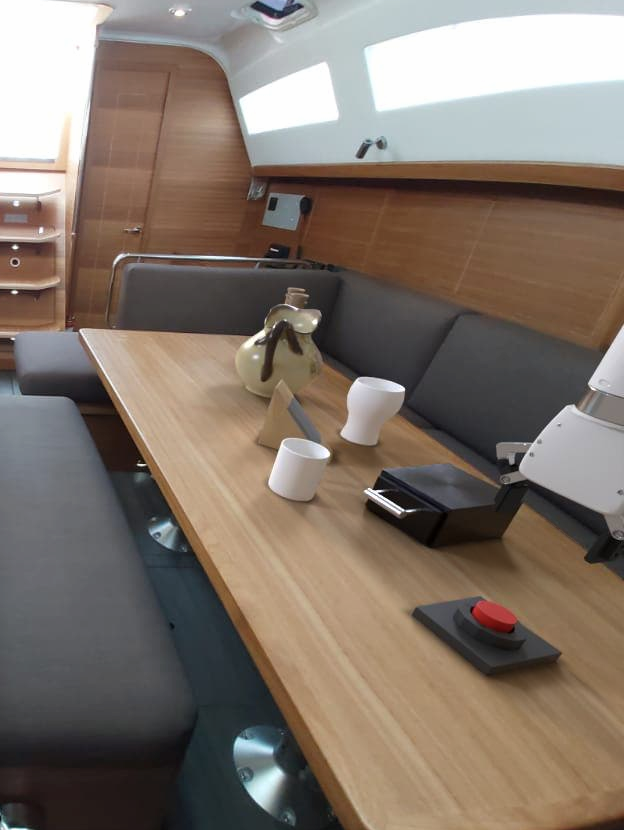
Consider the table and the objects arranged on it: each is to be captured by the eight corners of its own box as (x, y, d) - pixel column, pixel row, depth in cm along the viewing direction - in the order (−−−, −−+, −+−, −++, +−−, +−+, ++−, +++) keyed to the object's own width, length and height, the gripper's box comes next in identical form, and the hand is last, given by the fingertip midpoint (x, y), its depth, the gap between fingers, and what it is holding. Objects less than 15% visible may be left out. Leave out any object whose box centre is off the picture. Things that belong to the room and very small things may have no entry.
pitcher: (286, 380, 161) (310, 303, 150) (329, 411, 139) (362, 324, 129) (216, 377, 161) (236, 300, 150) (249, 407, 140) (275, 320, 129)
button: (486, 608, 70) (492, 598, 69) (518, 631, 66) (525, 621, 66) (464, 611, 69) (469, 602, 68) (495, 635, 66) (502, 625, 65)
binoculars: (259, 352, 187) (279, 285, 177) (289, 356, 184) (311, 288, 173) (262, 368, 170) (283, 295, 160) (295, 373, 167) (319, 299, 156)
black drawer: (399, 548, 85) (416, 515, 82) (343, 508, 96) (356, 477, 92) (488, 536, 89) (507, 504, 86) (424, 498, 99) (439, 469, 96)
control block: (473, 606, 75) (486, 586, 73) (553, 664, 66) (570, 643, 64) (409, 617, 73) (421, 597, 71) (484, 678, 64) (499, 657, 62)
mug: (265, 468, 110) (279, 427, 105) (308, 478, 107) (324, 436, 102) (268, 496, 100) (283, 452, 95) (315, 508, 97) (333, 462, 92)
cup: (359, 452, 118) (383, 394, 112) (322, 431, 128) (342, 377, 121) (394, 448, 121) (420, 391, 114) (355, 428, 130) (377, 375, 123)
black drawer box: (429, 550, 86) (452, 509, 83) (365, 507, 98) (382, 469, 94) (499, 541, 90) (524, 500, 86) (429, 499, 101) (448, 462, 97)
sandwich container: (330, 467, 111) (355, 407, 105) (256, 445, 119) (274, 388, 113) (334, 453, 117) (357, 395, 111) (263, 433, 126) (281, 377, 119)
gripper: (778, 445, 47) (665, 581, 55) (558, 379, 63) (492, 492, 70) (724, 451, 46) (615, 589, 53) (512, 381, 61) (450, 496, 69)
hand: (545, 534), depth 62 cm, fingers open, 9 cm apart
